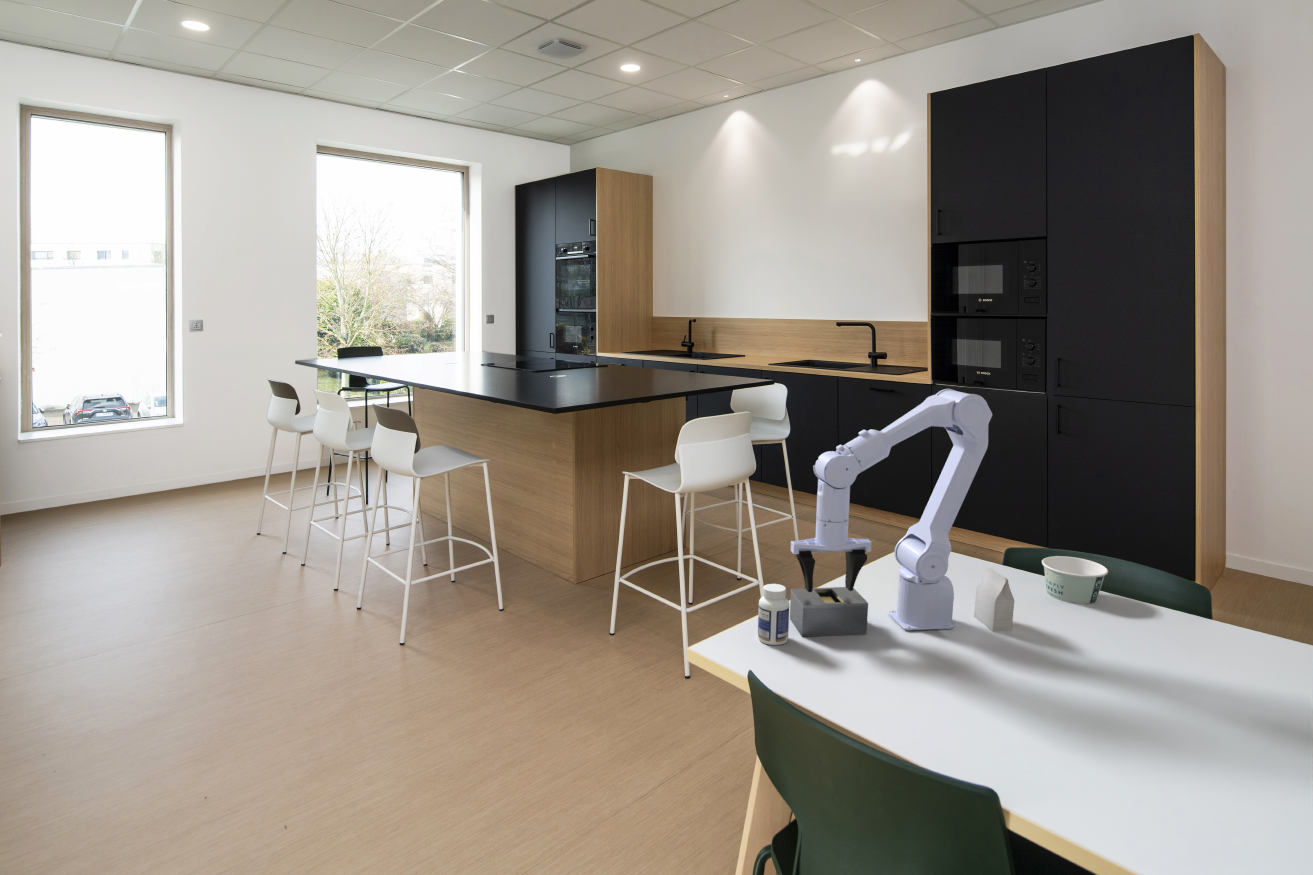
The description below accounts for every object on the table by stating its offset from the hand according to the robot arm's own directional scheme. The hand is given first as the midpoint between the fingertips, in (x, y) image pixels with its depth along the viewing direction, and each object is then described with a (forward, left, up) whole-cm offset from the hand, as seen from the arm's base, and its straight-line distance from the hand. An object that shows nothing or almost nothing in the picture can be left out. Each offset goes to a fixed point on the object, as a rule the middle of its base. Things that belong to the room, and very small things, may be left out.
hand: (828, 589), depth 140 cm
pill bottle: (+12, +4, -7) cm, 14 cm away
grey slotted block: (0, 0, -7) cm, 7 cm away
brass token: (0, 0, -7) cm, 7 cm away
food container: (-55, -10, -8) cm, 57 cm away
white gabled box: (-31, +2, -8) cm, 32 cm away
